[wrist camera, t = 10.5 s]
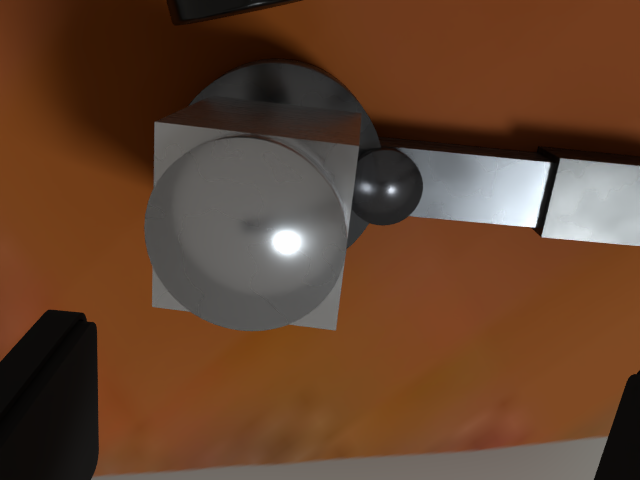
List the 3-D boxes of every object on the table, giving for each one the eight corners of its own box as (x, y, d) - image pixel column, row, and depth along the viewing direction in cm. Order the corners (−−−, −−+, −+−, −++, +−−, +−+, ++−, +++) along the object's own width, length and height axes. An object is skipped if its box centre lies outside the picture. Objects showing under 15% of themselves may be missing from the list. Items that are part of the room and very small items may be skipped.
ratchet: (678, 101, 28) (794, 126, 21) (624, 279, 31) (711, 350, 24) (184, 47, 27) (145, 58, 20) (178, 241, 30) (144, 305, 23)
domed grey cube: (361, 112, 24) (359, 151, 17) (344, 253, 26) (334, 342, 19) (212, 95, 24) (145, 126, 17) (206, 236, 26) (143, 317, 19)
